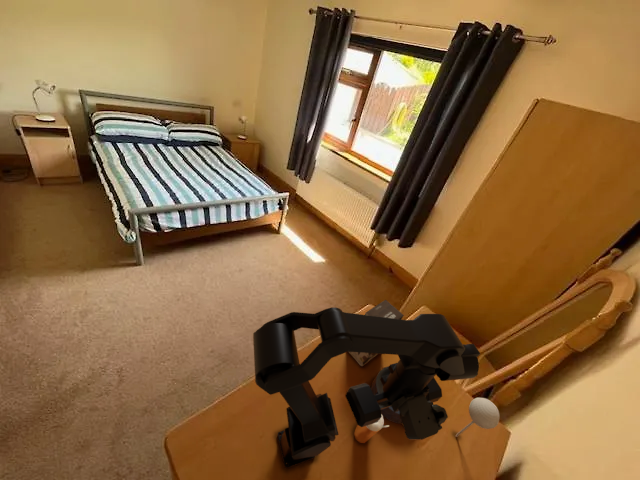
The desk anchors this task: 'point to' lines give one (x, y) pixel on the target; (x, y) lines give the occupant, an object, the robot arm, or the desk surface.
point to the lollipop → (482, 414)
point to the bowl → (387, 412)
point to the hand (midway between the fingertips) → (379, 414)
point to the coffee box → (380, 311)
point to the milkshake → (368, 430)
